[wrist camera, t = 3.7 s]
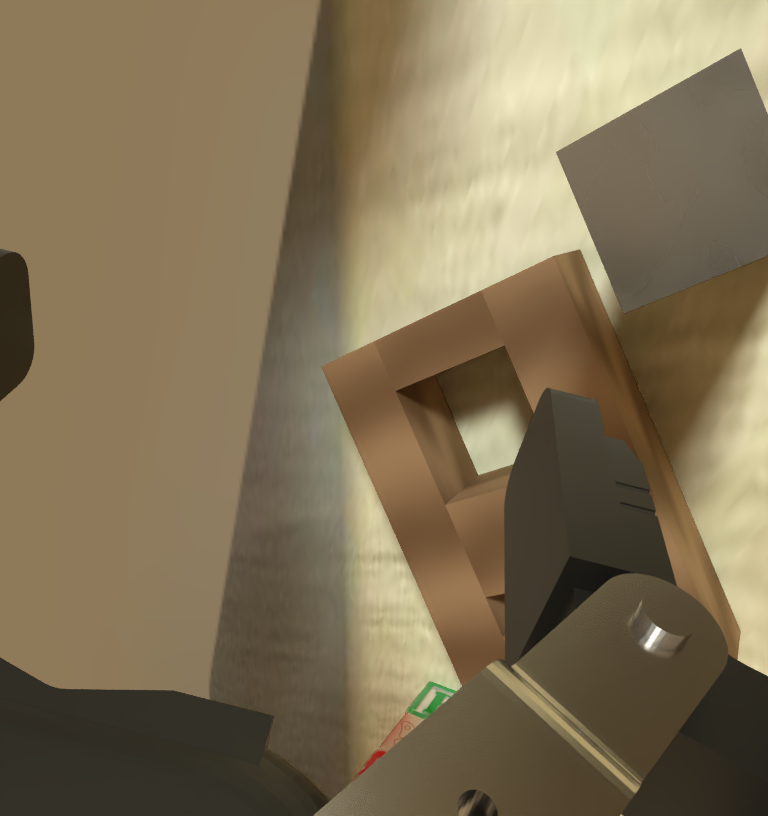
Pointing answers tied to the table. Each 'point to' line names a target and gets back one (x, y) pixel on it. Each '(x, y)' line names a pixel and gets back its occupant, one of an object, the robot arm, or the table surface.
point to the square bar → (677, 184)
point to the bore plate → (485, 494)
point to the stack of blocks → (412, 718)
